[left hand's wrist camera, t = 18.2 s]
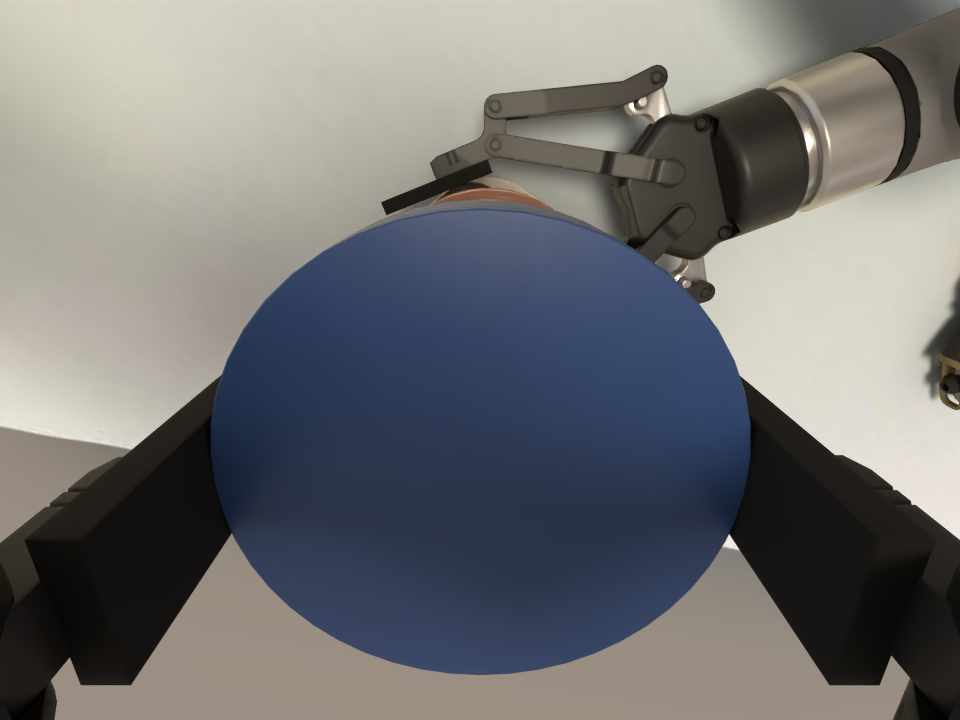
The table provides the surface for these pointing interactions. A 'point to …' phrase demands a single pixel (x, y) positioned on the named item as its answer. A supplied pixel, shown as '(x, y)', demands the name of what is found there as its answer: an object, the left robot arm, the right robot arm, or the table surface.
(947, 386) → the spray gun
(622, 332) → the lid
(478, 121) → the table surface
